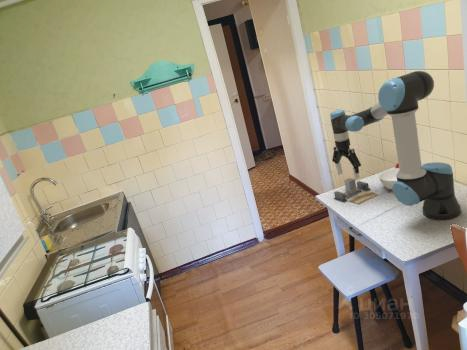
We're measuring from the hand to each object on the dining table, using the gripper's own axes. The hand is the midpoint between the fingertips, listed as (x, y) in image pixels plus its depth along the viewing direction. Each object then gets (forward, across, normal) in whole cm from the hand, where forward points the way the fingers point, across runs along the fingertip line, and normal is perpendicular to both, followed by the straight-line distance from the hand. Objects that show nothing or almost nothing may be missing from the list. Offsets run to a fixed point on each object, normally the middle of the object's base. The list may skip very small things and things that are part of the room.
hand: (348, 176), depth 205 cm
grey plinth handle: (+11, 0, 0) cm, 11 cm away
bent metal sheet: (+11, 0, 0) cm, 11 cm away
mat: (+11, -9, 0) cm, 14 cm away
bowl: (+11, -14, -20) cm, 27 cm away
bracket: (+11, -2, -33) cm, 35 cm away
